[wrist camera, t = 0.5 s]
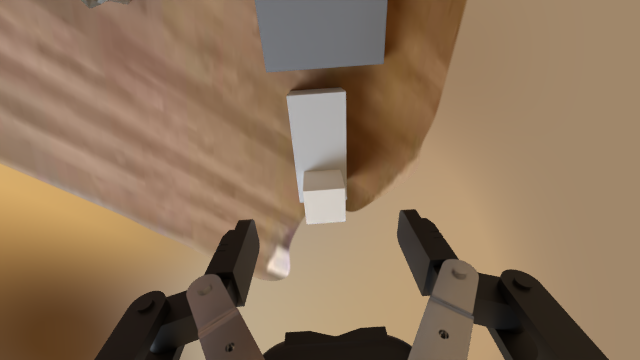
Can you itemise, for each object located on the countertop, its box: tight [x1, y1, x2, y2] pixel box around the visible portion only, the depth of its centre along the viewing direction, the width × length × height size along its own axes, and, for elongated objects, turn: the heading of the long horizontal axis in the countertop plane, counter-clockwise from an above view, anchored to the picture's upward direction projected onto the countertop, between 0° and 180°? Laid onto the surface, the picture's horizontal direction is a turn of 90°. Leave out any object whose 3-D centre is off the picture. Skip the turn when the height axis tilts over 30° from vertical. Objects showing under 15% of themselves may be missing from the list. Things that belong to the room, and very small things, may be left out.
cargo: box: [303, 169, 345, 224], centre depth 25 cm, size 4×4×4 cm
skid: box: [287, 87, 347, 202], centre depth 27 cm, size 12×6×4 cm, turn 4°
